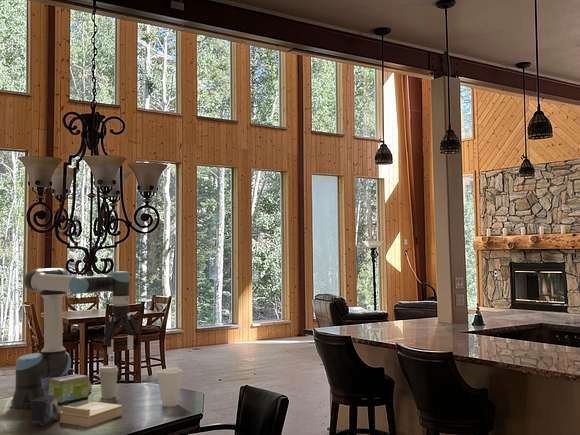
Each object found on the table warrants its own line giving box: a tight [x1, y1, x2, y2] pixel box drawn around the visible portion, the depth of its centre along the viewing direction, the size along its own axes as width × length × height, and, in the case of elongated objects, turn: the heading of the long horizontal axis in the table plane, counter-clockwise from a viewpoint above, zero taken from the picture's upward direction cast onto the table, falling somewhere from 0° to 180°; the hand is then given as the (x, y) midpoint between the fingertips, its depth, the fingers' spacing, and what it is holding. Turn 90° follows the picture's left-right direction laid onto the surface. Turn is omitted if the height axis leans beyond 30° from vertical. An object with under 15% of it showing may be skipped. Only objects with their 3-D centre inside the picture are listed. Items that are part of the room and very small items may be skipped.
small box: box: [30, 394, 59, 427], centre depth 263 cm, size 11×6×10 cm, turn 168°
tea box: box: [48, 373, 90, 414], centre depth 285 cm, size 15×10×15 cm
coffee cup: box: [98, 364, 120, 400], centre depth 309 cm, size 10×10×15 cm
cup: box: [156, 368, 183, 408], centre depth 292 cm, size 12×12×16 cm
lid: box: [59, 401, 123, 418], centre depth 268 cm, size 17×20×3 cm
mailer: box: [59, 407, 123, 427], centre depth 268 cm, size 16×20×4 cm
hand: (120, 351), depth 282 cm, fingers open, 13 cm apart
